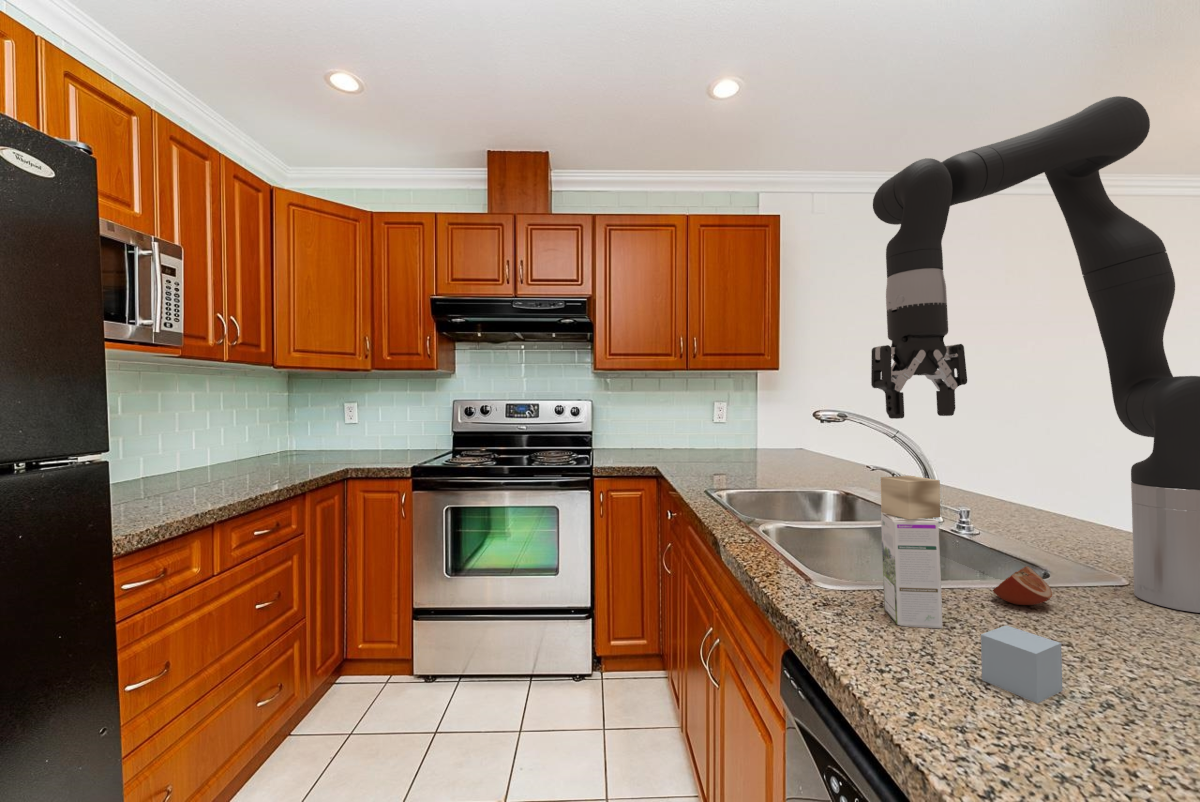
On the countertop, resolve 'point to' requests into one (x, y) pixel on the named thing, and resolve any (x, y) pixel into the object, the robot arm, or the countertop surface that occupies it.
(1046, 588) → the fruit slice
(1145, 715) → the countertop surface
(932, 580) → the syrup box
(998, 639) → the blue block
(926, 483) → the maple block
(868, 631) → the countertop surface
